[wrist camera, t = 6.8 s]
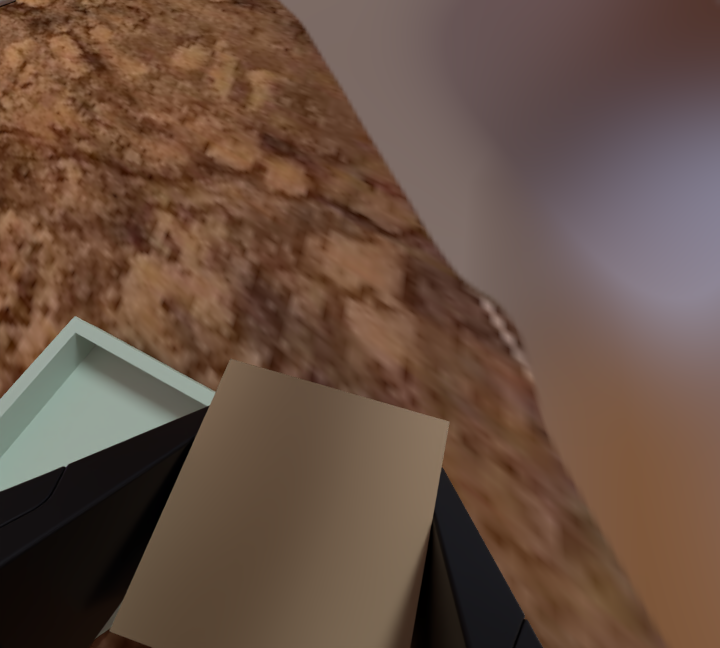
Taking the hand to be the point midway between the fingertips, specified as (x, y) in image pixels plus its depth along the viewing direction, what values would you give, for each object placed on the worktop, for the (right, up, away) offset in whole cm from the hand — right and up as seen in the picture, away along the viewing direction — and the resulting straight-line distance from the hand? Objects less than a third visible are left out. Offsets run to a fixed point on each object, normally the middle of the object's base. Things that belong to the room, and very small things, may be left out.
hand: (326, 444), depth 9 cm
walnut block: (0, -4, +6) cm, 7 cm away
